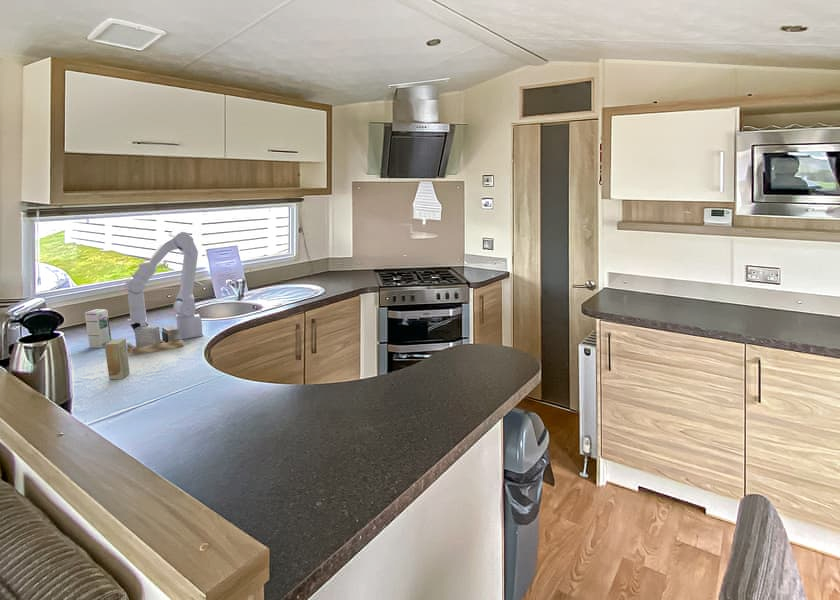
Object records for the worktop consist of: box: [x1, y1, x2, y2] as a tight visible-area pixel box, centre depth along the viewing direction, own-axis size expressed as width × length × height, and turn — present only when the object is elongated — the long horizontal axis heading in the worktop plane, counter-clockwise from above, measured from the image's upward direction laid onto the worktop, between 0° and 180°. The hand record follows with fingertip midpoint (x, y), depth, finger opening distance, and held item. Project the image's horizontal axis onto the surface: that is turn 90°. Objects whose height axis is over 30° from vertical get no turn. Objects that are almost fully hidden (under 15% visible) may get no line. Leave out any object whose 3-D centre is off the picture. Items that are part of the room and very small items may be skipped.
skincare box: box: [104, 338, 131, 380], centre depth 184 cm, size 6×4×12 cm
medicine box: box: [133, 325, 162, 348], centre depth 218 cm, size 8×4×9 cm, turn 80°
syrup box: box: [84, 308, 112, 349], centre depth 223 cm, size 6×6×14 cm
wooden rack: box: [126, 325, 185, 356], centre depth 219 cm, size 19×10×7 cm, turn 129°
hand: (141, 340), depth 225 cm, fingers closed
